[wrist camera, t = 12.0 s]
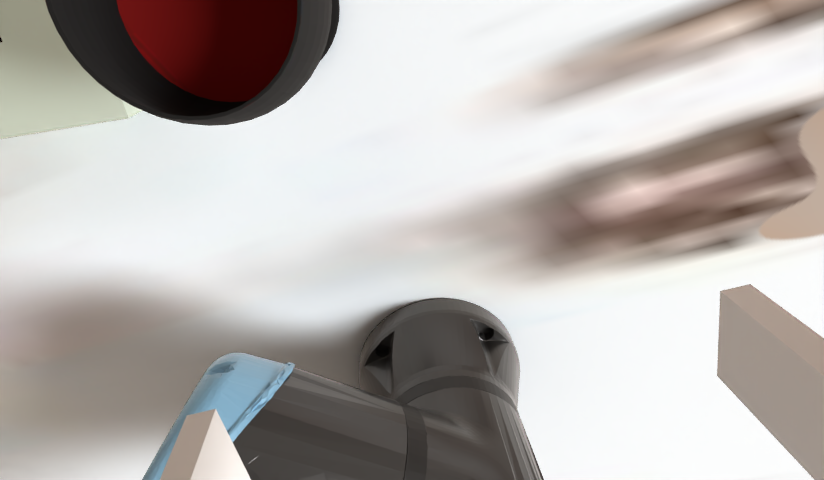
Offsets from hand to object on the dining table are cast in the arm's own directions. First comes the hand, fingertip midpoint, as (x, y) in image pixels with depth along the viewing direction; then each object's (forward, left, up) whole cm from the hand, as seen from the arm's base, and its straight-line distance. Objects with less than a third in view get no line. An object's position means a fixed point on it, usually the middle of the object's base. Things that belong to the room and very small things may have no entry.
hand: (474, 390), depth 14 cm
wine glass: (+10, +8, -30) cm, 33 cm away
